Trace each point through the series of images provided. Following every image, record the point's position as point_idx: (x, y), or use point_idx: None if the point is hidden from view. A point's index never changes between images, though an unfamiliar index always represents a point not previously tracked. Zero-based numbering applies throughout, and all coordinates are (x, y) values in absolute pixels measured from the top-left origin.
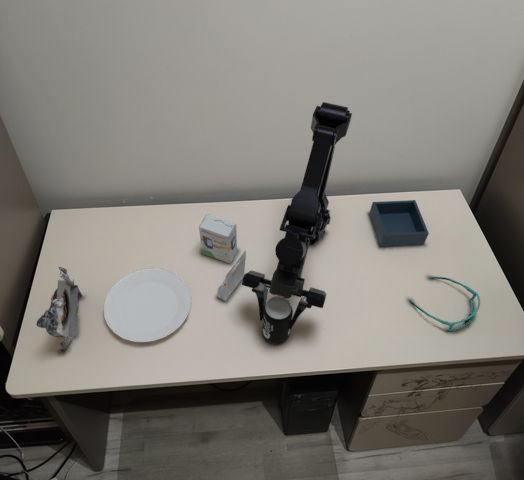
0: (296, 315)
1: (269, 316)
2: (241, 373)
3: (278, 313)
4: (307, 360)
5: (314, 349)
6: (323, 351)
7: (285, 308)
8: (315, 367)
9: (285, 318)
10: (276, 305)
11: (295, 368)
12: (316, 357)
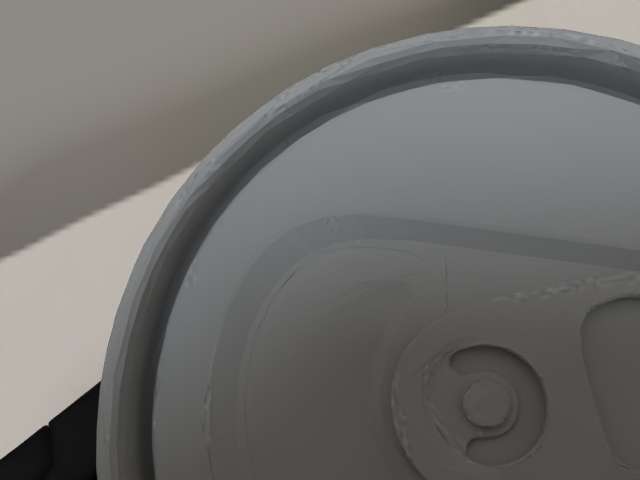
0: (57, 452)
1: (618, 86)
2: (528, 5)
3: (430, 230)
4: (110, 267)
5: (74, 376)
6: (6, 384)
7: (293, 471)
8: (47, 237)
9: (218, 192)
10: (601, 474)
11: (180, 177)
12: (50, 315)
